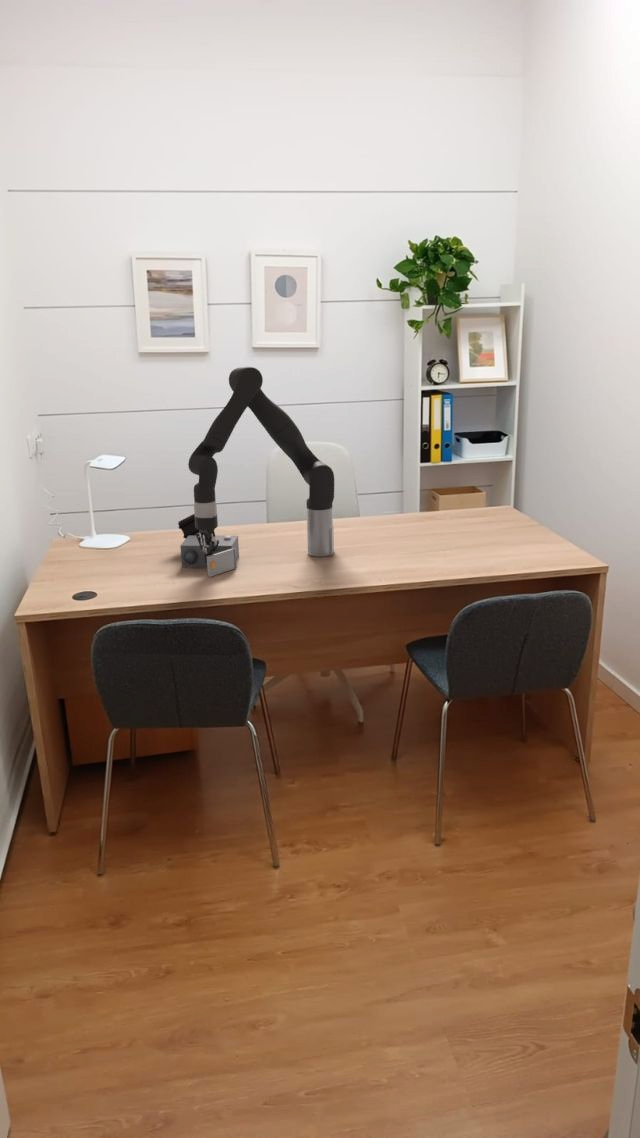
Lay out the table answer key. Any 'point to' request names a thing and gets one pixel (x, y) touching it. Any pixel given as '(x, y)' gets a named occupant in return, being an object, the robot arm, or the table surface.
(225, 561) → the side door
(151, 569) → the table surface
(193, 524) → the black piece
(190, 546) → the camera box
